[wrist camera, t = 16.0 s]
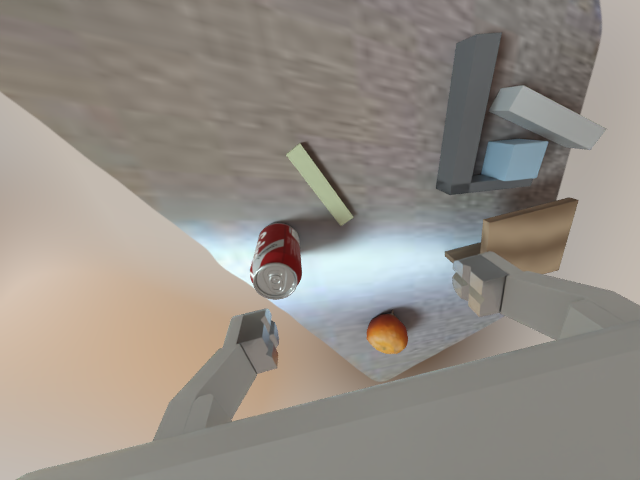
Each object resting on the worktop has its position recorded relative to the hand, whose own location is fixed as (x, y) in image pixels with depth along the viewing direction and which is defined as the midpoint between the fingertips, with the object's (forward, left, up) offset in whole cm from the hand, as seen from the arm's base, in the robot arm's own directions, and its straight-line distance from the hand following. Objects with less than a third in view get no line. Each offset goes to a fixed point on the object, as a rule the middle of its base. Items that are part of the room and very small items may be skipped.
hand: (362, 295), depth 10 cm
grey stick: (+1, +35, -29) cm, 46 cm away
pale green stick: (+3, +1, -30) cm, 30 cm away
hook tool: (0, +27, -29) cm, 40 cm away
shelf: (+16, +27, -29) cm, 43 cm away
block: (+5, +30, -29) cm, 42 cm away
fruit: (+35, +7, -29) cm, 46 cm away
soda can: (+10, -8, -29) cm, 32 cm away
